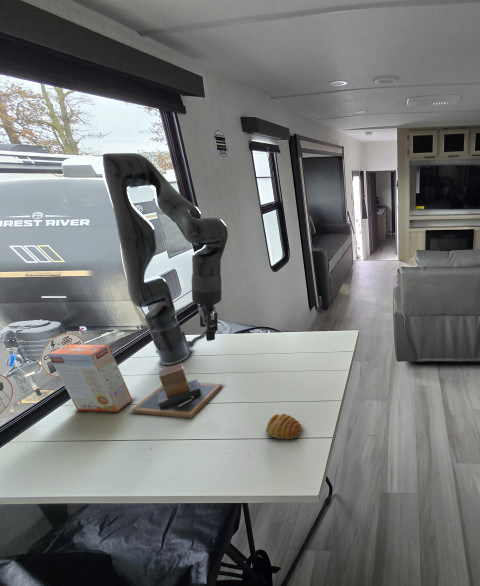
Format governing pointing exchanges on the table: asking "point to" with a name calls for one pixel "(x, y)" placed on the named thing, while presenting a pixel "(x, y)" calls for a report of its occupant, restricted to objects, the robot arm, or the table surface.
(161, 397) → the eraser
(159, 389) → the board
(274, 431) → the pastry
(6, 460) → the table surface
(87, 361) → the cracker box
